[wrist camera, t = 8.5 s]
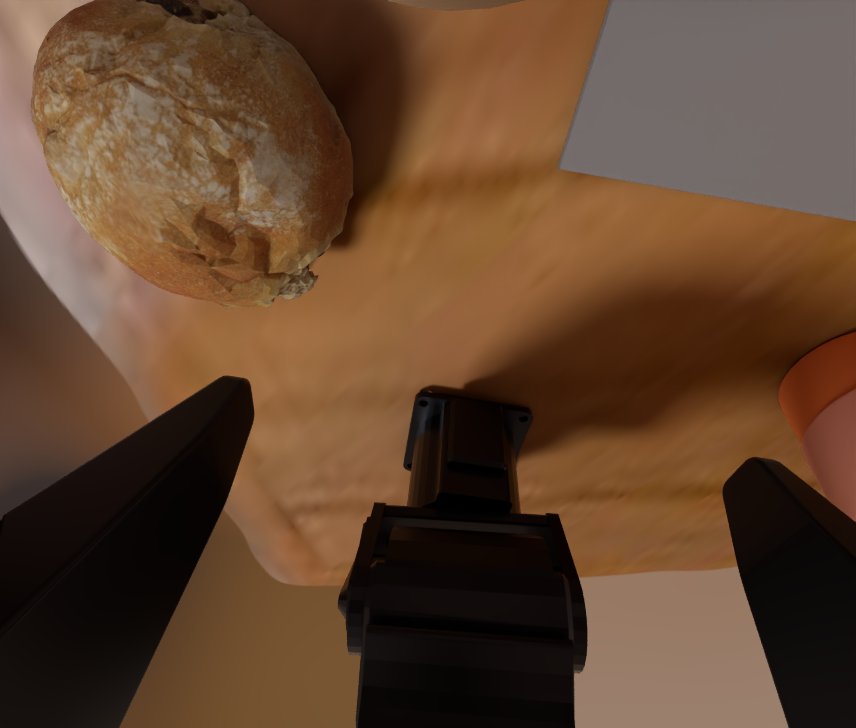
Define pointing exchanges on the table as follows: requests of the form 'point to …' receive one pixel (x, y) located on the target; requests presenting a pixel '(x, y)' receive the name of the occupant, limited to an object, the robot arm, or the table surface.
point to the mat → (724, 101)
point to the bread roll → (193, 146)
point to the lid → (454, 4)
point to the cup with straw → (826, 416)
